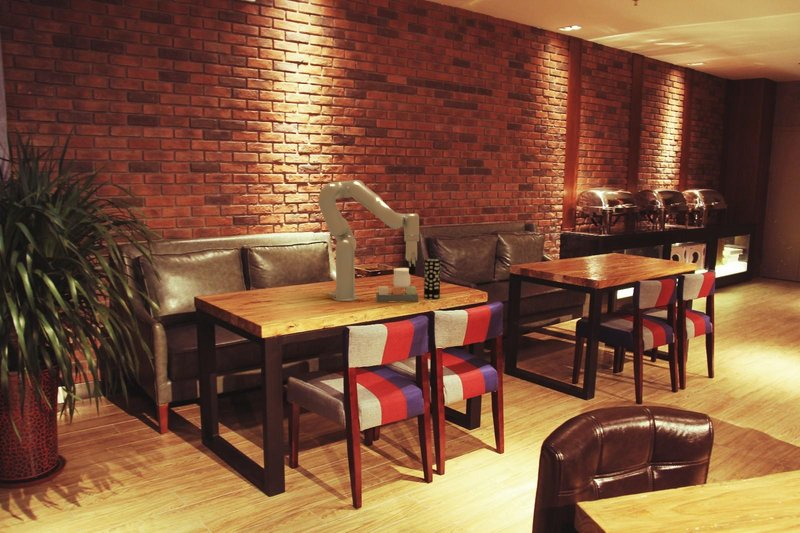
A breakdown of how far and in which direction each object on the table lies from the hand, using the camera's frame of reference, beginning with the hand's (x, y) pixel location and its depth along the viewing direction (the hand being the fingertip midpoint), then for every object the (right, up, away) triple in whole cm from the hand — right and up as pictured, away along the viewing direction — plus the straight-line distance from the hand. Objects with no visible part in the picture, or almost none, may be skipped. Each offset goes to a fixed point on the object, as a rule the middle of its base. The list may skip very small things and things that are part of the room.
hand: (412, 273), depth 327 cm
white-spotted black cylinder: (+10, -13, +9) cm, 19 cm away
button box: (-8, -14, +1) cm, 16 cm away
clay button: (-8, -12, +1) cm, 14 cm away
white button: (-15, -12, 0) cm, 19 cm away
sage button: (-1, -12, +2) cm, 12 cm away
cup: (-5, -8, +42) cm, 43 cm away
